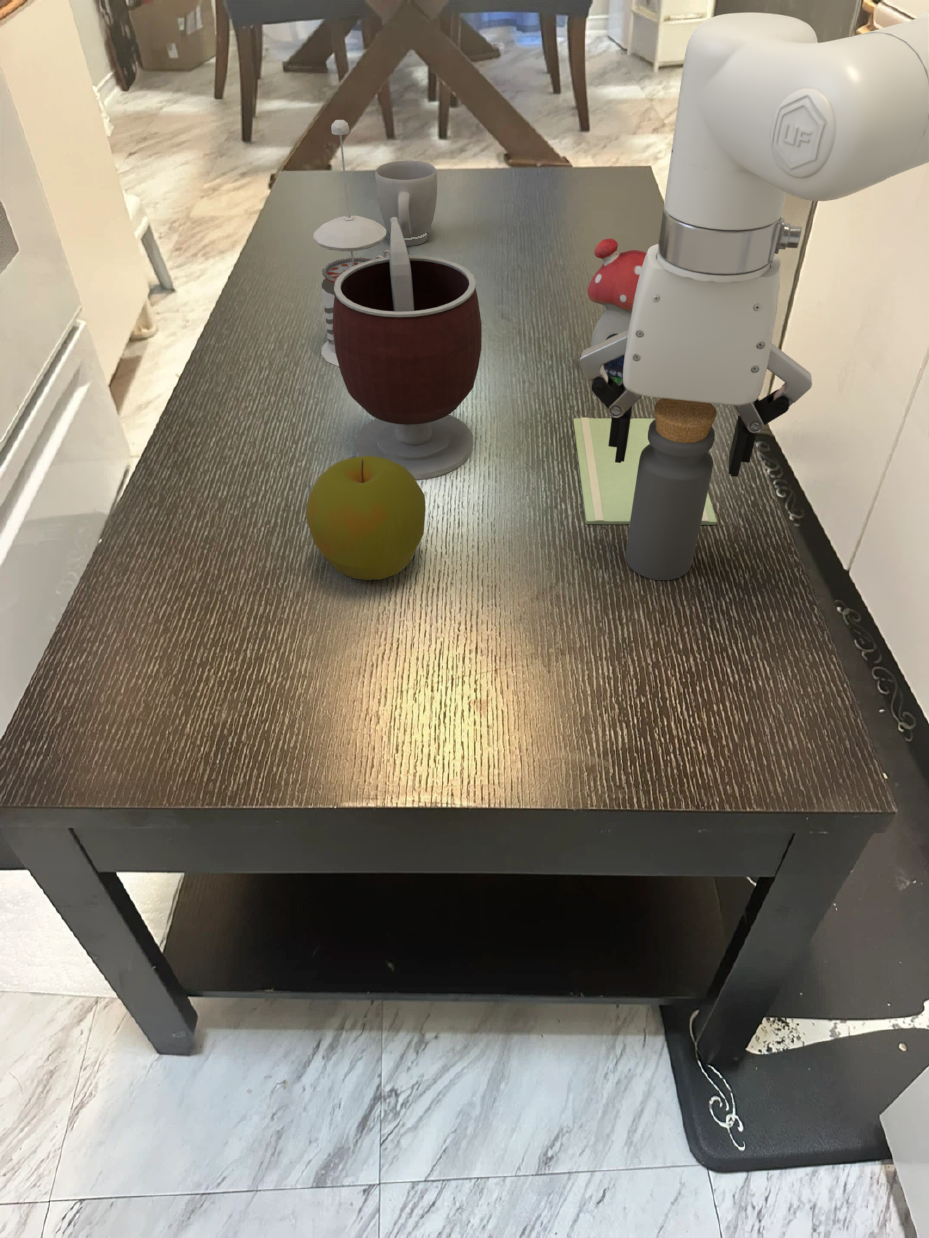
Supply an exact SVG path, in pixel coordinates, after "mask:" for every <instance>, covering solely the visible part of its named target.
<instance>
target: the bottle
mask: <svg viewBox="0 0 929 1238" xmlns="http://www.w3.org/2000/svg"><path fill="white" fill-rule="evenodd" d="M653 410H654V411H653V412H654V419H655V420H653V421H652V422H651V424H650V426H649V430H648V441H649V443H650V444H649V445H647V446H646V447H645V448H644V449H643V450H642V452H641V455H640V460H639V465H638V472H637V478H636V485H635V492H634V499H633V505H632V512H631V519H630V524H628V525H629V526H628V533H627V539H626V540H627V541H626V549H625V560H626V563H627V565H628V567H629V568H630V569H631V570H632V571H633V572H635V573H636V574H637V575H639V576H642V577H644V578H646V579H649V580H653V581H672V580H676V579H679V578H681V577H683V576H686V574H687V573H688V572H689V571H690V569H691V568H692V566H693V565H692V564H693V561H694V557H695V554H696V553H695V552H696V548H697V543H698V538H699V534H700V529H701V526H702V525H701V521H702V517H703V512H704V507H705V503H706V498H707V494H708V493H709V489H710V485H711V480H712V476H713V475H712V473H713V470H714V469H713V468H714V459H713V456H712V455H711V453H710V452H709V451H710V450H711V449H712V447H713V446H714V443H715V437H716V431H715V429H714V427H713V424H714V422H715V420H716V418H717V413H718V411H717V408H716V407H715V406H714V404H712V403H702V402H692V401H683V400H673V399H664V398H659V400H657V401H656V403H655V404H654V409H653Z"/></svg>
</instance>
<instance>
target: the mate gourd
mask: <svg viewBox="0 0 929 1238" xmlns="http://www.w3.org/2000/svg"><path fill="white" fill-rule="evenodd" d="M390 224H391V236H390V238H389V251H390V254H389V256H386V257H385V258H384V257H383V258H378V259H376V258H375V259H374V258H373V260H370V261H367V262H364V263H361V264H358V265H356V266H353V267H351V268H350V269H348V270H346V271H345V272H343V273H342V274H341V275H340V276H339V277H338V278H337V280H336V282H335V285H334V292H335V297H334V305H333V336H334V345H335V353H336V357H337V360H338V364H339V371H340V374H341V378H342V381H343V383H344V385H345V388H346V390H347V393H348V395H350V397H351V398H352V399H353V400H354V401H355V402H356V403H357V404H358V405H359V406H360V407H362V409H364V410H365V412H367V413H368V414H369V415H370V416H372V417H373V418H374V419H371V420H370V421H368V422H367V423H366V424H365V425H363V426H362V427H361V428H360V429H359V431H358V432H357V433H356V436H355V438H354V453H355V457H360V456H376V457H382V458H385V459H388V460H391V461H393V462H395V463H397V464H399V465H401V466H403V467H405V468H406V469H407V470H408V471H409V472H410V474H411V475H412V476H413V477H414V478H415V480H425V479H432V478H436V477H439V476H443V475H446V474H449V473H451V472H453V471H455V470H457V469H458V468H460V467H461V466H462V465H464V464H465V462H467V461H468V460H469V459H470V457H471V455H472V453H473V450H474V436H473V433H472V431H471V429H470V427H469V426H467V424H466V423H464V421H462V420H460V419H459V418H457V417H456V416H453V415H451V414H452V413H453V412H454V411H456V409H457V408H458V407H459V406H460V405H461V404H462V403H463V401H465V399H466V398H467V397H468V395H469V394H470V393H471V391H472V390H473V388H474V386H475V383H476V378H477V375H478V370H479V365H480V359H481V353H482V335H483V334H482V328H483V327H482V325H483V324H482V318H481V317H482V316H481V310H480V304H479V297H478V292H477V289H476V287H477V286H476V285H477V284H476V283H477V282H476V278H475V276H474V275H473V273H472V272H471V271H470V270H469V269H467V268H466V267H464V266H463V265H460V264H459V263H457V262H454V261H451V260H448V259H444V258H439V257H434V256H433V257H432V256H426V255H409V251H408V248H407V247H408V246H406V244H405V240H404V237H403V234H402V231H401V228H400V226H399V221H398V218H397V217H392V218H391V219H390Z"/></svg>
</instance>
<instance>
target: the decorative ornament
mask: <svg viewBox="0 0 929 1238" xmlns="http://www.w3.org/2000/svg"><path fill="white" fill-rule="evenodd" d="M618 246H619V243H618V241H617V240H615V238H605V239H602V240H601V241H599V242H598V243H597V245H596V246H595V248H594V251H593V253H594V256H595V257H596V258H598V259H601V260H602V265H601V266H600V267H599V268H598V270H597V271H596V272H595V274H594V275H593V277H592V279H590V282H589V284H588V286H587V296H588V299H589V300H590V301H591V303H595V304H597V305H598V304H599V305H602V306H603V307H605V311H604V312H603V314H602V315H601V317H600V318H599V319H598V321H597V322H596V325H595V327H594V329H593V332H592V334H591V335H592V336H591V341H590V347H592V346H594V345H596V344H598V343H600V342H603V341H605V340H607V339H609V338H611V337H613V336H615V335H617V334H620V333H622V332H624V331H626V330H628V329H629V324H630V319H631V314H632V308H633V303H634V297H635V293H636V288H637V284H638V280H639V276H640V272H641V269H642V265H643V262H644V259H645V256H646V254H647V252H645V251H643V250H637V249H630V250H626V251H623V252H620V251H618ZM624 357H625V355H623V356H621V357H618V358H616V359H614V360H612V361H610V362H607V363H605V364H603V367H604V370H605V372H607V373H608V374H609V375H610V376H611V378H612V379H613V380H614V381H615V382H616V383H617V384H618V385H619V384H620V382H621V381H622V380H623V366H624Z"/></svg>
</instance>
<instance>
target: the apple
mask: <svg viewBox="0 0 929 1238" xmlns="http://www.w3.org/2000/svg"><path fill="white" fill-rule="evenodd" d="M426 510H427V509H426V495H425V493H424V492H423V490H422V488H421V487H420V485H419V484H418V481H417V479H415V478H414V477H413V476H412V475H411V474H410V472H409V471H408V470H407V469H406V468H405V467H403V466H401V465H399V464H397V463H395V462H393V461H391V460H388V459H385V458H382V457H376V456H360V457H357V456H352V457H349V458H346V459H342V460H339V461H338V462H336V463H334V464H332V465H331V466H330V467H328V468H327V469H326V470H325V471H324V472H322V474H321V475H320V476H319V477H318V479H317V480H316V481H315V483H314V485H313V486H312V489H311V491H310V494H309V496H308V499H307V501H306V503H305V517H306V518H305V519H306V522H307V526H308V528H309V529H308V530H309V531H310V535H311V539H312V541H313V544H314V545H315V546H316V548H317V550H319V553H321V555H322V556H323V557H324V558H325V559H326V561H327V562H328V563H329V564H330V565H331V566H332V567H333V569H334V570H335V571H336V572H339V573H340V574H341V575H344V576H346V577H349V578H352V579H353V578H354V579H359V580H362V581H371V580H372V581H373V580H383V579H386V578H389V577H392V576H395V575H398V574H399V573H400V572H401V571H403V570H404V569H405V568H406V567H407V566H409V564H410V562H411V560H412V559H413V556H414V555H415V553H416V550H417V548H418V546H419V545H420V543H421V540H422V539H423V536H424V535H425V523H426Z"/></svg>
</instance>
